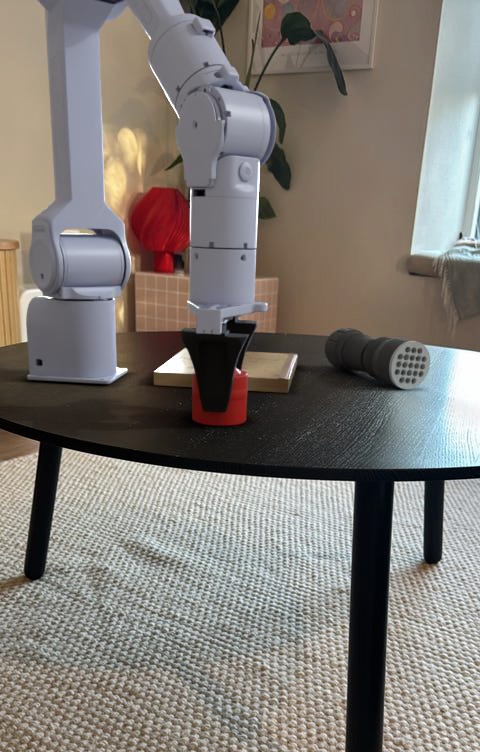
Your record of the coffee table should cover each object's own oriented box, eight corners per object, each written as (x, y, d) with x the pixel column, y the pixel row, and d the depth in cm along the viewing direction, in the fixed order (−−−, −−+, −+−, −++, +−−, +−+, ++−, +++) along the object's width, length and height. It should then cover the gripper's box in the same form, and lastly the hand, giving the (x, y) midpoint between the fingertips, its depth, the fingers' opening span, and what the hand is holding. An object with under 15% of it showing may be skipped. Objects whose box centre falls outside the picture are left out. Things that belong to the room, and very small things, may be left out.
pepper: (187, 424, 68) (187, 356, 66) (197, 411, 73) (197, 347, 70) (243, 427, 67) (245, 359, 65) (249, 414, 72) (251, 350, 70)
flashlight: (318, 367, 98) (321, 325, 96) (353, 366, 100) (357, 324, 98) (389, 390, 85) (394, 342, 83) (427, 388, 87) (433, 340, 85)
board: (153, 385, 84) (153, 371, 83) (184, 359, 101) (184, 347, 100) (287, 393, 82) (288, 378, 82) (296, 365, 99) (297, 353, 98)
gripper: (261, 252, 57) (254, 426, 62) (276, 248, 71) (269, 391, 76) (170, 248, 58) (170, 420, 63) (202, 245, 71) (200, 387, 76)
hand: (219, 404), depth 69 cm, fingers closed on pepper, 5 cm apart
